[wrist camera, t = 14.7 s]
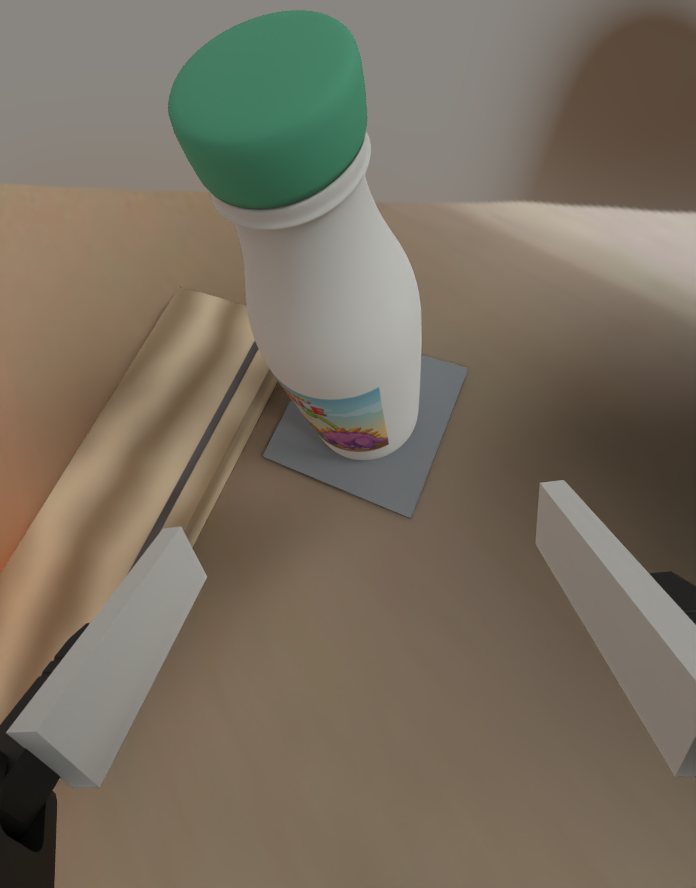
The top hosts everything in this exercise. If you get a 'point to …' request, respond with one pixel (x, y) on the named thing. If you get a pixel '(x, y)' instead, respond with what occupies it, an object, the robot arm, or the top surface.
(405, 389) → the milk bottle
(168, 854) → the top surface
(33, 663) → the oak board
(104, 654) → the robot arm
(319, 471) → the plate
